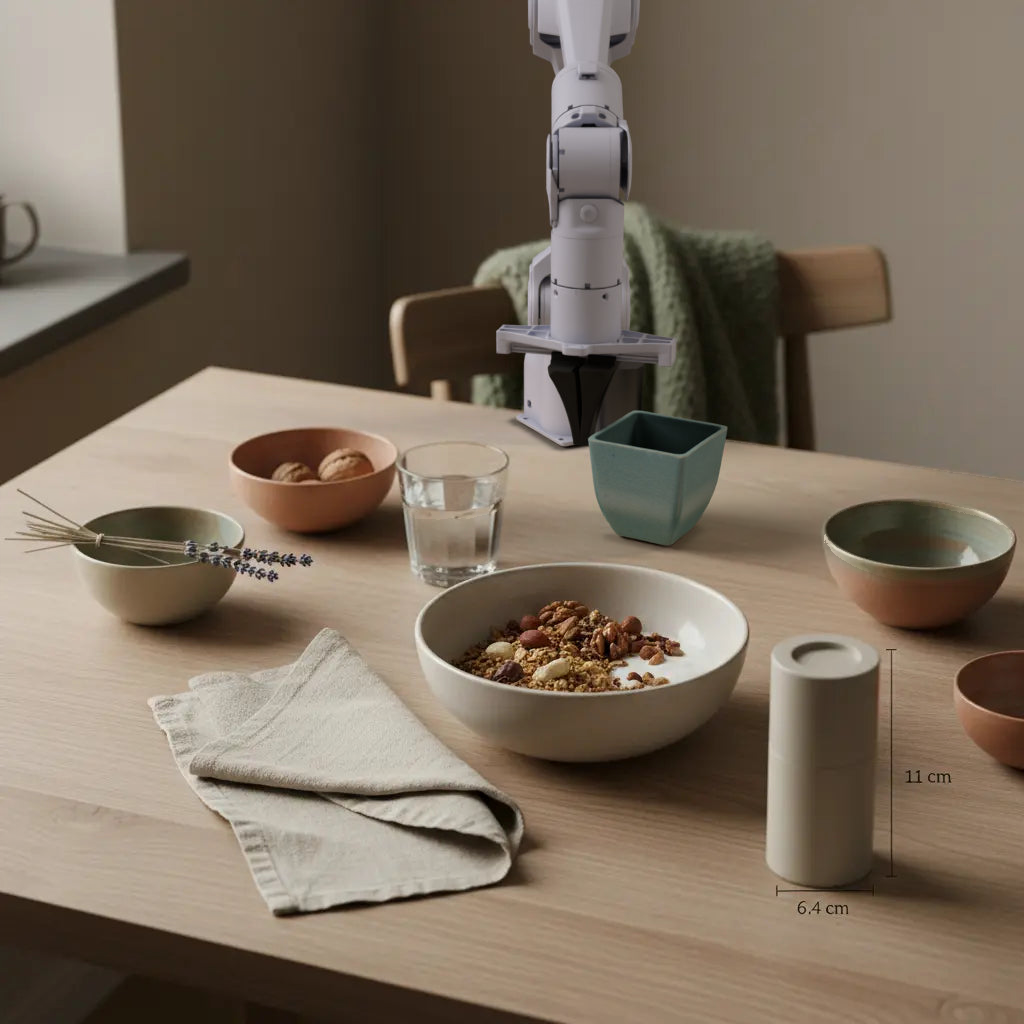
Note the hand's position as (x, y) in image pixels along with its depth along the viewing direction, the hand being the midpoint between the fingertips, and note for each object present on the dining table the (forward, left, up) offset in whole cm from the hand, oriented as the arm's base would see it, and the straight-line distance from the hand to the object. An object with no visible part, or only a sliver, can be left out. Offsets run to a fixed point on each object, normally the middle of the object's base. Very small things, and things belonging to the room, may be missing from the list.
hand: (583, 441), depth 126 cm
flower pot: (+4, +4, -8) cm, 10 cm away
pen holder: (-16, +14, -8) cm, 22 cm away
